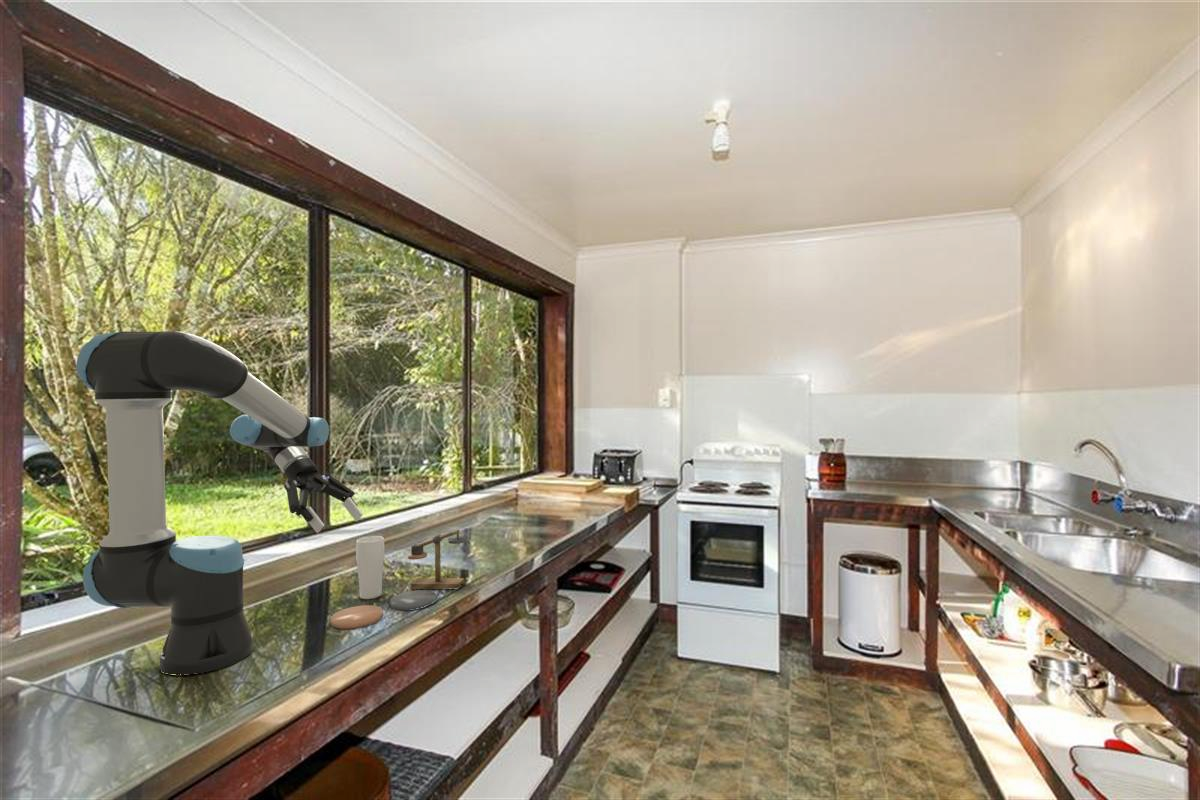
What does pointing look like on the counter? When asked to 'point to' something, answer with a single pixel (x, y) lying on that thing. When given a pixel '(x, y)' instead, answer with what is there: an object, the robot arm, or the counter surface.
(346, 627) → the pink oval pebble
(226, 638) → the robot arm
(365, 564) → the drinking glass
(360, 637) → the counter surface
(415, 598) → the charcoal dish
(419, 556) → the balance
